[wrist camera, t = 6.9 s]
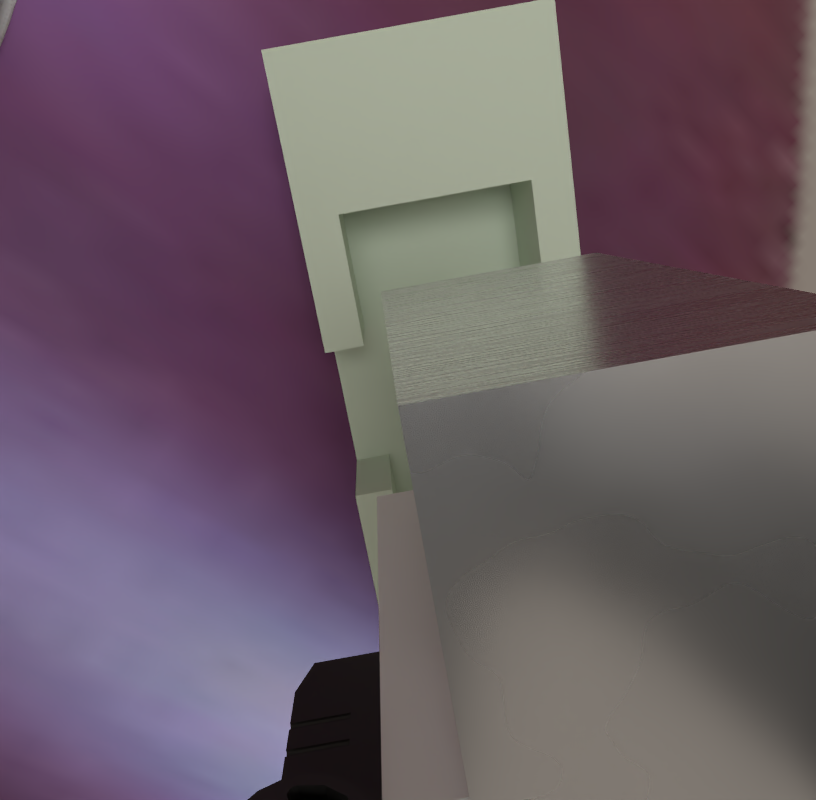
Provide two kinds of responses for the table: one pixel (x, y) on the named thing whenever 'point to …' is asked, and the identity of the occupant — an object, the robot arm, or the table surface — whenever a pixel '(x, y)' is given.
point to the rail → (418, 186)
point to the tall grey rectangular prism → (618, 525)
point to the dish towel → (5, 16)
